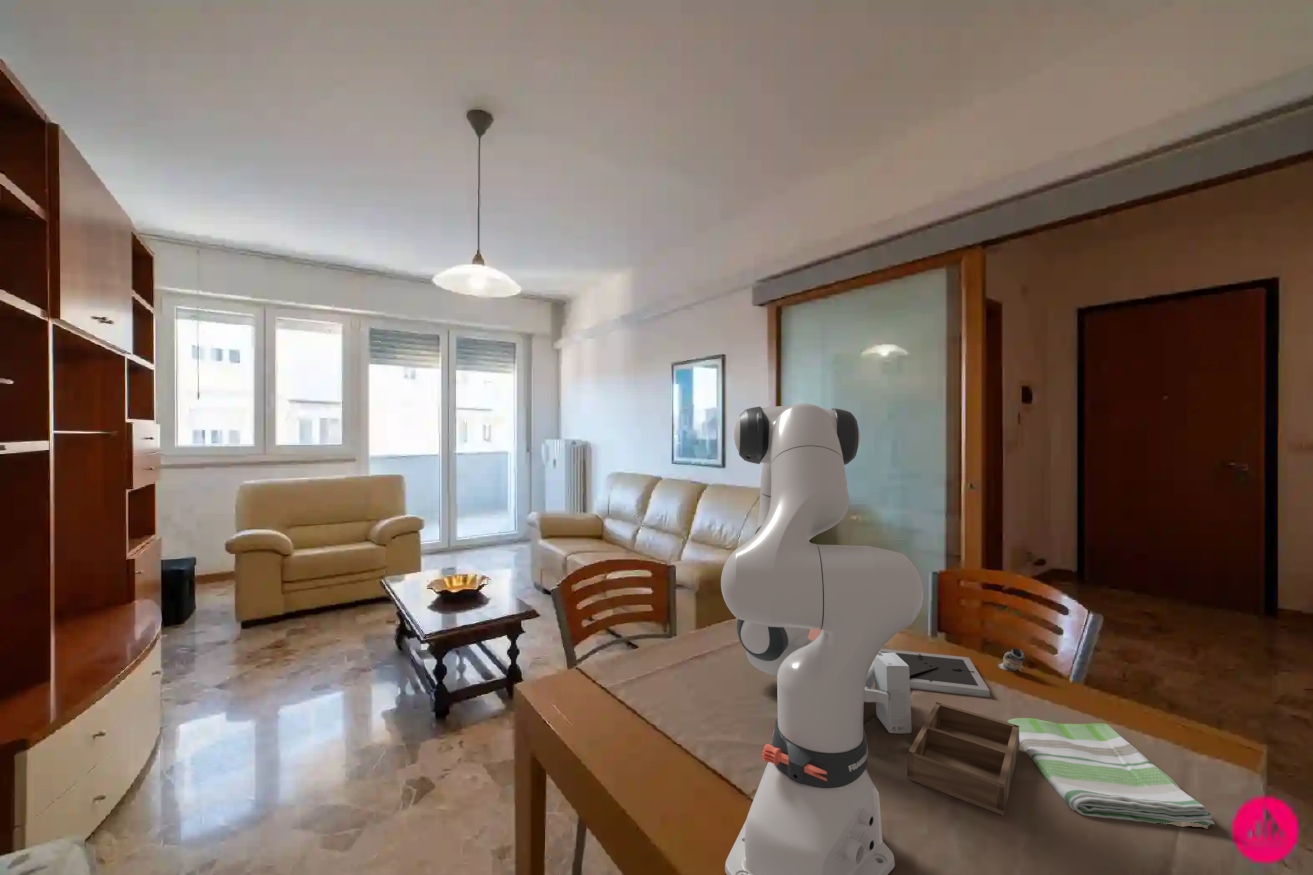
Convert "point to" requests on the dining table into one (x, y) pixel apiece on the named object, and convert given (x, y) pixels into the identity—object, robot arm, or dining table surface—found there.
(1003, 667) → the vase
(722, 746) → the dining table surface
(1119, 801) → the dish towel
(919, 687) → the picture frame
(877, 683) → the skincare box
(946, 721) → the walnut slot rack
